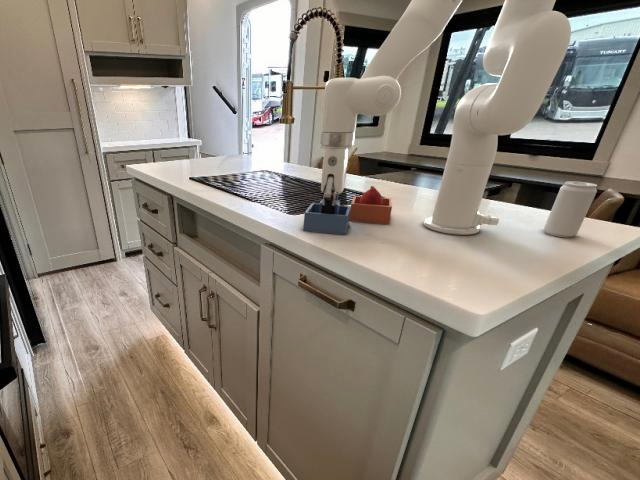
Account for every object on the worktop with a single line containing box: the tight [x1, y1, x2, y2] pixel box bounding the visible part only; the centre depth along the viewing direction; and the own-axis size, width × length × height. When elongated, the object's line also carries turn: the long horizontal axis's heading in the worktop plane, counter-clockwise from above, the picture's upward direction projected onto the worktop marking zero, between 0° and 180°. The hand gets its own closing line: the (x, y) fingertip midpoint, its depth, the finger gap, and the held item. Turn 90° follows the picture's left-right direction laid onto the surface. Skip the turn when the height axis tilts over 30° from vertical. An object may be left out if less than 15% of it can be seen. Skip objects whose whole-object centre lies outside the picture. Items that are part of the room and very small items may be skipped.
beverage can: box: [543, 180, 598, 238], centre depth 84 cm, size 6×6×12 cm
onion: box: [360, 185, 383, 206], centre depth 98 cm, size 6×6×8 cm
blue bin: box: [302, 202, 351, 236], centre depth 91 cm, size 10×10×5 cm
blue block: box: [318, 198, 341, 215], centre depth 90 cm, size 4×4×4 cm
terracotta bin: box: [349, 195, 393, 225], centre depth 99 cm, size 10×10×5 cm
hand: (328, 218), depth 91 cm, fingers closed on blue block, 4 cm apart
